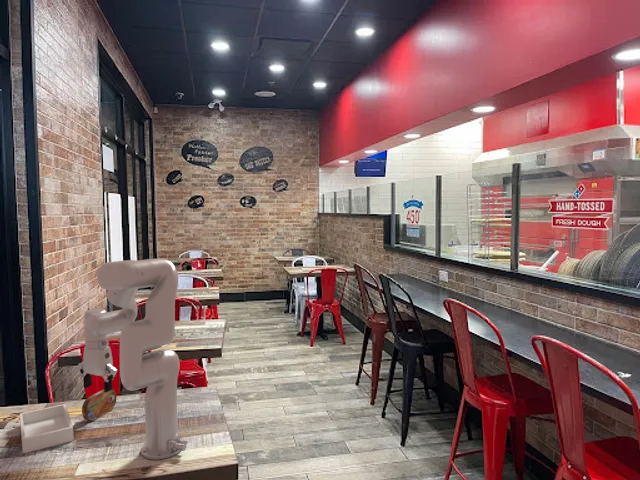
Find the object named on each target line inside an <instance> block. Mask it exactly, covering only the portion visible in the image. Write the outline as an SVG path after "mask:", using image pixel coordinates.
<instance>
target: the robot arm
mask: <svg viewBox="0 0 640 480" xmlns="http://www.w3.org/2000/svg"><path fill="white" fill-rule="evenodd" d="M96 281H97V284H98V285H99V287H100V288H101V289H103V290H105V291H106V290H107V291H106V298H107V299H106V300H108V302H109V303H110V304H112V305H113V306H115V307H118V308H122V309H119V310H118V309H117V310H113V311H107V310H106V309H104V308H93V309H89V310H86V311H85V313H84V314H83V319H84V345H85V346H84V350H83V358H82V362H79V363H77V365H78V367H79V372H80V373H81V377H82V378H83V380H82V381H83V382H82V383H83V388H84V389H87V388H89V387H91V386H92V385H93V381H92V380H93V379H92V378H93V377H92V375H94V376H99V377H102V378H103V379H104V382H103V389H104V392H105V393H106V392H108V391H110V390H112V389H113V380H114V378H116V375H117V372H118V369H117V368H116V367H115V366H114V365H113V364H114V363H113V361H114V360H113V355H112V349H111V346H109V345H110V342H109V334H113V333H119V332H120V335H119V377H120V380H121V381H120V382H121V384H122V386H123V387H124V388H125V389H126V390H127V391H137V390H140V389H144V388H146V391H145V395H144V415H145V418H144V419H145V421H144V422H145V443H144V444H142V446H141V448H140V454H141V456H142V457H143V458H145V459H148V460H156V461H158V460H163V459H164V460H165V459H168V458H171V457H174V456H176V455H178V454H179V453H181V451H182V452H185V450H186V449H187V444H188V441H187V440H186V439H185V440H184V439H182V435H181V433H179V427H178V426H179V424H178V423H179V422H178V418H179V417H178V379H179V372H180V362H181V361H180V358H179V355H178V354H177V353H176V352H175V351H174V349H170V348H163V347H167V346H168V345H170V344H172V342H173V341H174V338H175V328H176V325H175V324H176V322H175V321H176V318H175V317H176V314H175V313H176V307H175V306H176V297H177V292H178V287H179V274H178V270H177V268H176V266H175V264H174V263H173V262H172V261H170V260H168V259H167V258H166V259H165V258H146V259H140V260H134V259H128V260H116V261H109V262H104V263H103V264H102V265H100V266H99V268H98V271H97V273H96ZM149 287H150V288H151V287H154V288H153V289H152V291H151V292H150V293H149V295H148V297H147V299H146V301H145V316H144V317H143V318H142V319H139V320H136V318H137V317H138V310H139V309H138V303H137V301H136V300H135V296H136V294H137V293H138V290H139V289H144V288H149ZM161 348H163V349H161ZM156 349H157V350H156ZM149 351H150V352H149ZM145 352H146V353H145Z"/></svg>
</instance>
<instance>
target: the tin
mask: <svg viewBox="0 0 640 480" xmlns="http://www.w3.org/2000/svg"><path fill="white" fill-rule="evenodd" d="M116 402H117V393H116V391H115V389H113V388H112V390H110V391H108V392H106V393H105V392H104V388H103V389H101V390H100V391H98V392H96V393H94V394H92V395H90V396H88V397H87V398H86V399H85V400H84V401H83V404H82V406H81V413H82V414H81V415H82V418H84V420H87V421H92V422H93V421H94V422H95V421H97V420H98V419H100V418H101V417H104V416H105V415H106V414H108V413H110V412H111V411H112V410H113V409H114V408H115V406H116Z"/></svg>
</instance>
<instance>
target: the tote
mask: <svg viewBox="0 0 640 480" xmlns="http://www.w3.org/2000/svg"><path fill="white" fill-rule="evenodd" d="M19 424H20V437H21V447H22V448H21V449H22V454H27V453H30V452H31V453H32V452H34V451H38V450H43V449H47V448H50V447H54V446H59V445H62V444H66V443H70V442H74V441H75V440H74V426H73V423H72V420H71V418H70V414H69V410H68V408H67V405H66V404H65V403H63V404H58V405H53V406H49V407H45V408H40V409H35V410H31V411H25V412H21V413H19Z"/></svg>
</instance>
